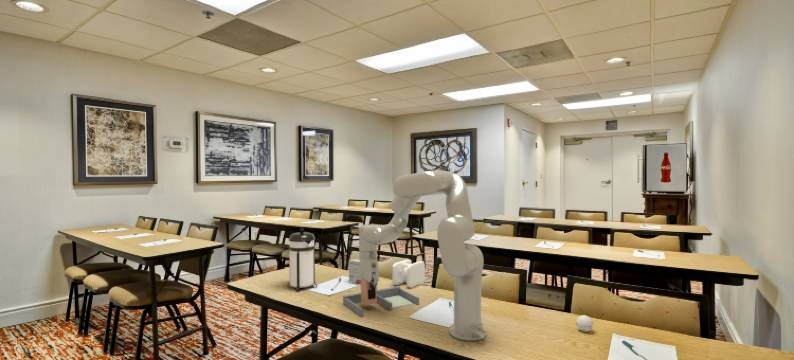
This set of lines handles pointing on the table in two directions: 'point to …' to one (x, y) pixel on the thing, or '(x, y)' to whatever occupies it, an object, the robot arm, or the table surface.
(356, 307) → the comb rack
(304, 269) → the coffee press
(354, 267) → the ink box
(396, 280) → the cable organizer
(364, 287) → the terracotta block
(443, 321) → the table surface
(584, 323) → the white rounded lump
